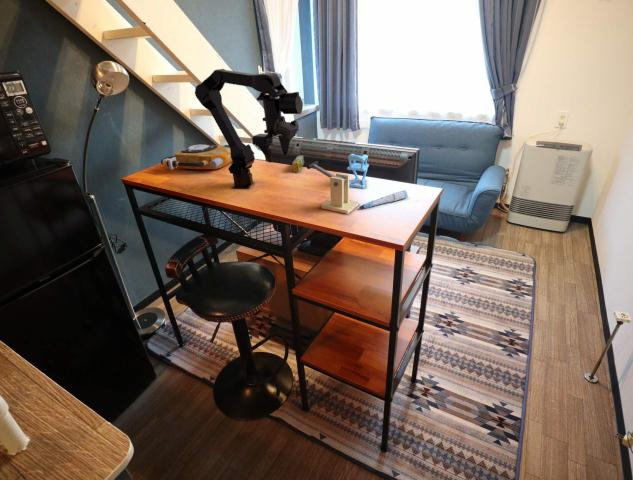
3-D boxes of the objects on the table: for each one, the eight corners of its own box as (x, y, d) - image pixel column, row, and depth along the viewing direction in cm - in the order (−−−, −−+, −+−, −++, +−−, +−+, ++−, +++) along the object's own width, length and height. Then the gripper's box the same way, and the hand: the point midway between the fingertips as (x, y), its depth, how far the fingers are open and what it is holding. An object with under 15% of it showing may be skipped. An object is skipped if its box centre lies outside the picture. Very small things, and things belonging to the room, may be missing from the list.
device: (215, 157, 143) (153, 154, 149) (219, 176, 147) (158, 173, 154) (239, 143, 161) (183, 141, 168) (241, 160, 166) (187, 158, 172)
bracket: (321, 208, 116) (320, 177, 110) (332, 199, 122) (332, 170, 116) (347, 214, 111) (348, 182, 106) (358, 204, 117) (359, 174, 111)
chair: (370, 181, 136) (371, 150, 130) (364, 188, 129) (365, 157, 123) (351, 178, 139) (352, 149, 133) (344, 186, 132) (344, 155, 126)
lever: (305, 169, 113) (307, 163, 112) (314, 164, 117) (316, 158, 116) (338, 189, 110) (340, 183, 109) (346, 183, 114) (348, 177, 113)
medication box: (299, 164, 158) (297, 155, 156) (304, 163, 157) (303, 155, 156) (293, 172, 148) (291, 163, 146) (299, 171, 147) (297, 162, 145)
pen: (402, 195, 122) (403, 188, 121) (408, 198, 120) (409, 191, 118) (356, 208, 115) (356, 200, 113) (362, 211, 112) (362, 203, 111)
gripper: (274, 120, 107) (280, 169, 115) (307, 110, 121) (310, 154, 128) (247, 118, 112) (254, 165, 120) (282, 108, 126) (286, 151, 134)
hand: (278, 158), depth 125 cm, fingers open, 9 cm apart
